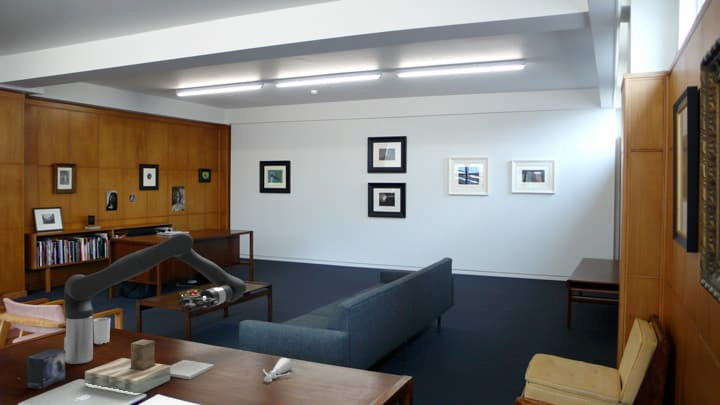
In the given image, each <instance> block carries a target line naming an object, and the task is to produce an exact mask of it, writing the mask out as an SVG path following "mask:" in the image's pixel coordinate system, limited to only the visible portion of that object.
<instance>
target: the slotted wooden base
mask: <svg viewBox="0 0 720 405" xmlns="http://www.w3.org/2000/svg"><path fill="white" fill-rule="evenodd" d="M170 366H171V365H168V364H164V363H163V364H161V363H156V362H155V366H154V367H152V368H149V369H147V370H145V371H140V370H134V369H131V358H125V357H120V358H118V359H114V360H112V361H110V362H107V363H105V364H102V365H99V366H96V367H93V368H92V369H88V370H85V371H84V384H85V383H88V384H92V385H97V386H101V387H108V388H113V389H119V390H123V391H128V392H133V393H142V394H143V393H145V392H148V391H149V390H151V389H154V388H156V387H158V386H160V385H162V384H165V383H167V382H168V381H170V380H171V376H170Z"/></svg>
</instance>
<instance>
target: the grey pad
mask: <svg viewBox="0 0 720 405" xmlns="http://www.w3.org/2000/svg"><path fill="white" fill-rule="evenodd" d="M169 366H170V377H172V378H173V377H174V378H179V379H180V378H181V379H185V380H191V379H194V378H195V377H198V376H199V375H201V374H204V373H205V372H208V371H209V370H211V369H213V368H214V367H215V364H212V363H207V362H201V361H194V360H189V359H188V360H187V359H182V360H180V361H178V362H176V363H173V364H170V365H169Z"/></svg>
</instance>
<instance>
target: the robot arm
mask: <svg viewBox="0 0 720 405" xmlns="http://www.w3.org/2000/svg"><path fill="white" fill-rule="evenodd" d="M193 246H194V238H193V237H192V236H191V235H190V234H188V233H185V232H181V233H180V232H179V233H176V234H174V235H173V236H171V237H168V238H167V239H165V240H163V241H162V242H159V243H157V244H154V245H151V246H148V247H146V248H143V249H140V250H137V251H134V252H132V253H129V254H128V255H125V256H123V257H121V258H119V259H117V260H116V261H114V262H112V264H110V265H109V266H107V267H106V268H104V269H102V270H100V271H97V272H94V273H91V274H89V275H84V274H81V273H79V274H74V275H72V276H70V277H68V279H67V280H66V281H65V284H64V292H63V293H64V309H65V336H64V338H63V350H66V356H65V364H69V365H79V364H80V365H81V364H85V363H89V362H91V361H93V359H94V354H93V353H94V321H93V320H94V309H93V304H92V297H94V296H95V295H98V294H99V293H101V292H102V291H104V290H106V289H108V288H110V287H112V286H115V285H118V284H120V283H122V282H125V281H127V280H129V279H132V278H135V277H137V276H139V275H141V274H144V273H146V272H147V271H149V270H151V269H153V268H154V267H156V266H157V265H159V264H161V263H162V262H164V261H165V260H168V259H170V258H172V257H173V258H174V257H175V258H176V259H179V260H180V261H182V262H184V263H185V264H187V265H188V266H190V267H192V268H193V269H195V270H196V271H197V272H199V273H200V274H201V275H202V276H204V277H205V278H206V279H207V280H209V281H210V282H211V283H213V285H215V287H211V288H208V289H204V290H202V291H201V292H200V293H199V294H198V295H194V296H193V295H191V294H190V295H188V296H183V297H181V298H180V300H178V301H177V307H183V306H188V305H189V306H195V309H201V308H204V309H210V308H213V307H215V306H218V305H220V304H223V303H225V302H226V303H233V302H236V301H237V300H238V299H239V298H241V296H242V295H243V294H245V292H246V291H247V284H246V283H245V282H244V281H243V280H242V279H241V278H238V277H236V276H233V275H231V274H230V273H227V272H226V271H225V270H224V269H222V268H221V267H220V266H219V265H217V264H216V263H215V262H213V261H211V260H209V259H207V258H205V257H203V256H201V255H200V254H198V253H197V252H196V251H195V250H194V249H193Z"/></svg>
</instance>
